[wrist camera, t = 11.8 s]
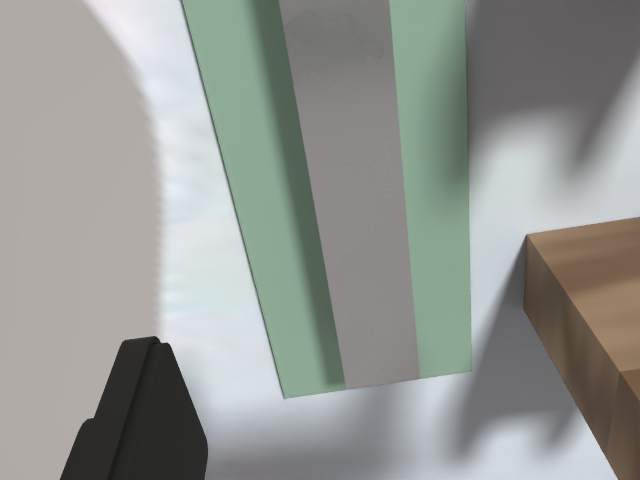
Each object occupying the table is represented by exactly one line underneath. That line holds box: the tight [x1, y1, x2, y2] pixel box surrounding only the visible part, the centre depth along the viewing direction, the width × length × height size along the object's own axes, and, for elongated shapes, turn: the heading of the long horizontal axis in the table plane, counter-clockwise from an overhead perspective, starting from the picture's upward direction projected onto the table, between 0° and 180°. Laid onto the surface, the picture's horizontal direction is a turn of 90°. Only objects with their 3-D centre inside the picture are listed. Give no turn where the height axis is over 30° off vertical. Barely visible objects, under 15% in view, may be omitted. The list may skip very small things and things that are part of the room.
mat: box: [182, 0, 472, 399], centre depth 22 cm, size 26×9×1 cm, turn 9°
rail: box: [279, 0, 420, 390], centre depth 20 cm, size 20×3×3 cm, turn 8°
